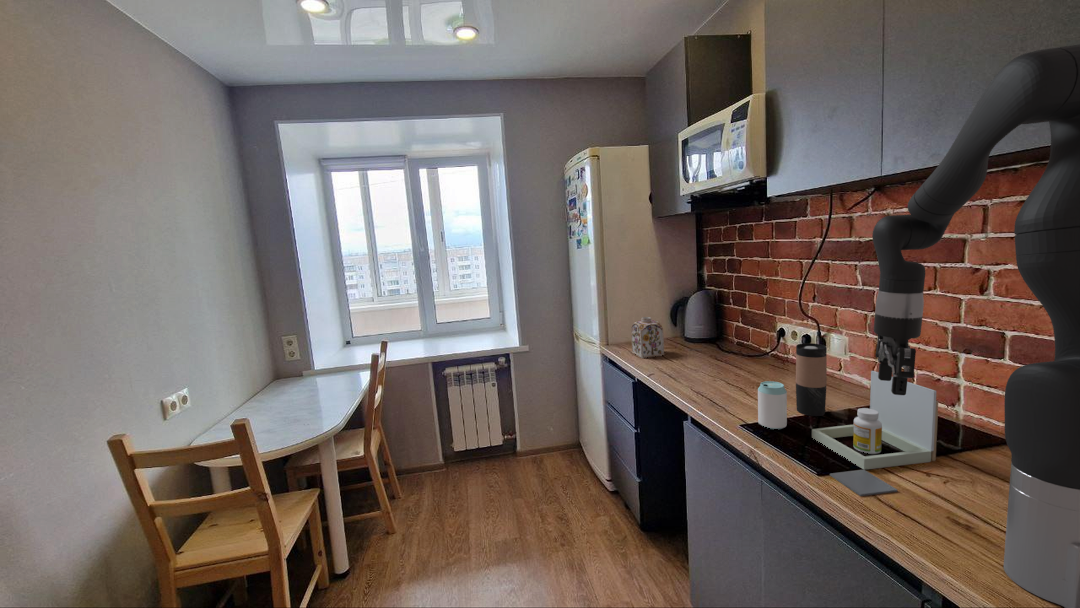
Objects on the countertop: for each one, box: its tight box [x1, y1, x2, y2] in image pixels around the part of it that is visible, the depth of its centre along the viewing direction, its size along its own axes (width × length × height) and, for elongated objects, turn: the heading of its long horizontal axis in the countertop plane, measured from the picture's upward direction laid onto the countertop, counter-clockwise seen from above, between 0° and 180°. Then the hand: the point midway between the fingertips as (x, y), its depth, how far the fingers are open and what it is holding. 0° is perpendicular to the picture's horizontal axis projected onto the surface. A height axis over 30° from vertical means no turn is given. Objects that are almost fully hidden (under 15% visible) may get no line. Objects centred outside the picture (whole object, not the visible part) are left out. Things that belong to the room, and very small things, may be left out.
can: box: [757, 380, 788, 430], centre depth 117 cm, size 7×7×12 cm
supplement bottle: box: [852, 407, 883, 455], centre depth 101 cm, size 5×5×10 cm
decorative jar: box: [630, 316, 665, 359], centre depth 202 cm, size 12×12×18 cm
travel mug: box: [795, 342, 828, 417], centre depth 124 cm, size 8×8×20 cm
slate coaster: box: [829, 469, 898, 497], centre depth 88 cm, size 8×8×1 cm
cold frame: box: [811, 370, 939, 471], centre depth 101 cm, size 16×17×16 cm
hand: (891, 386), depth 90 cm, fingers open, 8 cm apart
